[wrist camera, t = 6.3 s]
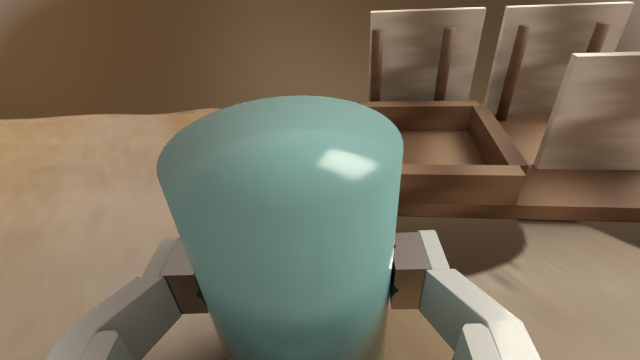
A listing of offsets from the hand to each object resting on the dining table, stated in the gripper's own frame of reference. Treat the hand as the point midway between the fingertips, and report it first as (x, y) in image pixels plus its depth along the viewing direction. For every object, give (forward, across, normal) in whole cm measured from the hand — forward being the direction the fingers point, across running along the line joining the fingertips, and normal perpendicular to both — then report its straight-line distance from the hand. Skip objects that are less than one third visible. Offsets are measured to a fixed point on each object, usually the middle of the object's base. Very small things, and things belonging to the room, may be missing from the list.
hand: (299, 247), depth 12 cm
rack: (+14, -12, +6) cm, 20 cm away
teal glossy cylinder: (-1, 0, +6) cm, 6 cm away
